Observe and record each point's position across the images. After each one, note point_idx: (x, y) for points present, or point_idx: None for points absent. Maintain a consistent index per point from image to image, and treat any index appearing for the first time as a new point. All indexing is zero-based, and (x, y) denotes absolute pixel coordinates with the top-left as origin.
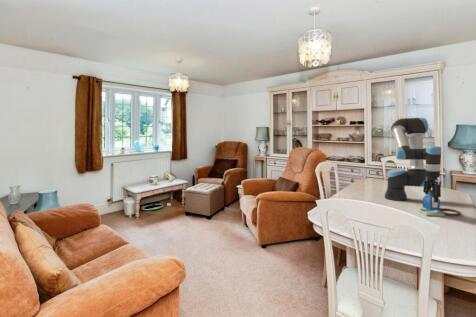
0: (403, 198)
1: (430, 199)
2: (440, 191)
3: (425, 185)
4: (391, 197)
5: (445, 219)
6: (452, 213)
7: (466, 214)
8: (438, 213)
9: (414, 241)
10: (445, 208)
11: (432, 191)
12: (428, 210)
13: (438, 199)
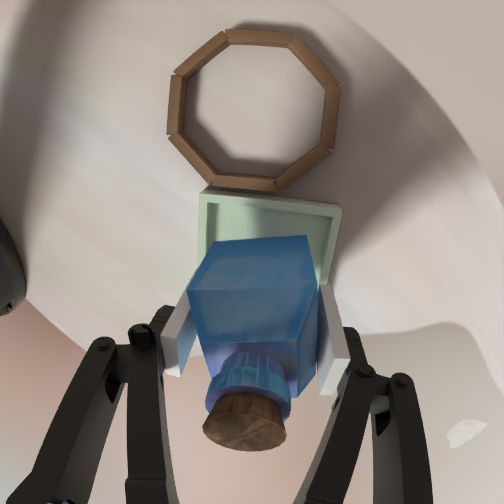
0: (6, 254)
1: (309, 380)
2: (424, 438)
3: (98, 450)
4: (15, 306)
5: (393, 245)
6: (326, 128)
7: (291, 6)
8: (283, 213)
9: (469, 423)
10: (175, 87)
11: (282, 435)
12: (208, 241)
13: (313, 305)
